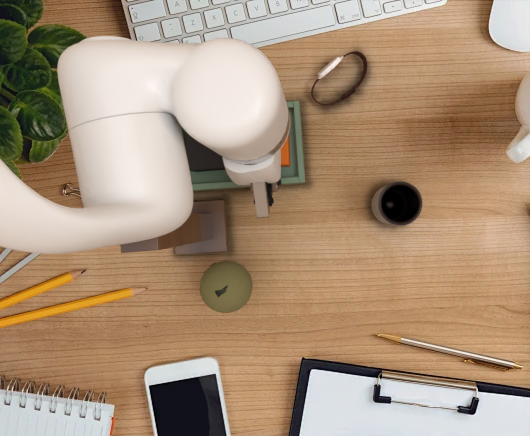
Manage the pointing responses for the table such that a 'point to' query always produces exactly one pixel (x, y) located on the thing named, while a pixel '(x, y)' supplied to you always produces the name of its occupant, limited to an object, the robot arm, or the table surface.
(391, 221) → the planter
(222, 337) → the table surface
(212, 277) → the green pear
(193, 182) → the holder
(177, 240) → the stand
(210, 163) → the pad
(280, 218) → the table surface
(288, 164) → the orange block
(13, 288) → the table surface
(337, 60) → the watch
